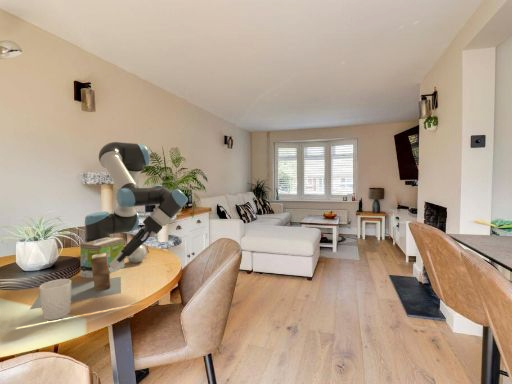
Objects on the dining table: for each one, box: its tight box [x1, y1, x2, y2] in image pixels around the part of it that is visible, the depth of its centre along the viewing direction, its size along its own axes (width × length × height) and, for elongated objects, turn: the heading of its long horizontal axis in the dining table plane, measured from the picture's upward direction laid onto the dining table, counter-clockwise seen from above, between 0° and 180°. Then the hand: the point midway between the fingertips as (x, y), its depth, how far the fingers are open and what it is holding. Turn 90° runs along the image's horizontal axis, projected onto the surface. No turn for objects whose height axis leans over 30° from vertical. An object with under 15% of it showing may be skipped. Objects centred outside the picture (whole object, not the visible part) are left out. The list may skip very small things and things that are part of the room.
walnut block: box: [91, 253, 111, 291], centre depth 101 cm, size 5×5×12 cm
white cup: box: [38, 278, 73, 322], centre depth 82 cm, size 8×8×10 cm
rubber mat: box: [29, 276, 122, 310], centre depth 99 cm, size 26×18×1 cm
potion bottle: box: [126, 244, 150, 264], centre depth 137 cm, size 9×10×15 cm
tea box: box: [80, 236, 125, 279], centre depth 119 cm, size 15×10×15 cm, turn 168°
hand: (111, 267), depth 103 cm, fingers closed
